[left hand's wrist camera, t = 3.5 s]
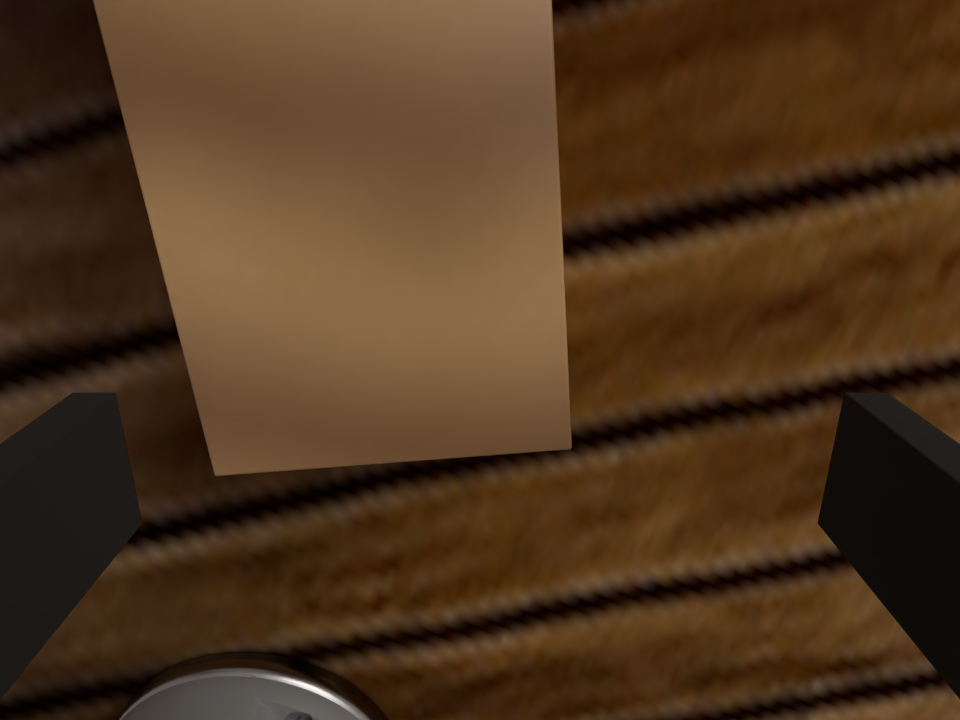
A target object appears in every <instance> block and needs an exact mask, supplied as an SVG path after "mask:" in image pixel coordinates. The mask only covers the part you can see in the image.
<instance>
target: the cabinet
mask: <svg viewBox="0 0 960 720" xmlns="http://www.w3.org/2000/svg"><path fill="white" fill-rule="evenodd" d="M93 3H94V7H95V11H96V15H97V19H98V22H99V26H100V30H101V34H102V38H103V42H104V46H105V50H106V54H107V58H108V61H109V65H110V69H111V73H112V77H113V81H114V85H115V89H116V93H117V97H118V100H119V104H120V108H121V112H122V116H123V120H124V124H125V128H126V132H127V136H128V139H129V143H130V147H131V151H132V155H133V159H134V163H135V167H136V171H137V175H138V178H139V182H140V186H141V190H142V194H143V198H144V202H145V206H146V210H147V214H148V217H149V221H150V225H151V229H152V233H153V237H154V241H155V245H156V249H157V253H158V256H159V260H160V264H161V268H162V272H163V276H164V280H165V284H166V288H167V292H168V295H169V299H170V303H171V307H172V311H173V315H174V319H175V323H176V327H177V331H178V334H179V338H180V342H181V346H182V350H183V354H184V358H185V362H186V366H187V369H188V373H189V377H190V381H191V385H192V389H193V393H194V397H195V401H196V405H197V408H198V412H199V416H200V420H201V424H202V428H203V432H204V436H205V440H206V444H207V447H208V451H209V455H210V459H211V463H212V467H213V471H214V475H215V476H225V475H238V474H251V473H264V472H277V471H290V470H303V469H317V468H330V467H343V466H356V465H369V464H382V463H395V462H408V461H421V460H435V459H448V458H461V457H474V456H487V455H500V454H513V453H526V452H539V451H553V450H566V449H571V447H572V441H571V418H570V396H569V374H568V351H567V329H566V307H565V285H564V262H563V240H562V218H561V195H560V173H559V151H558V128H557V106H556V84H555V62H554V39H553V17H552V0H93Z"/></svg>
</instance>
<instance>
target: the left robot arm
mask: <svg viewBox="0 0 960 720" xmlns="http://www.w3.org/2000/svg"><path fill="white" fill-rule="evenodd" d="M141 524H142V519H141V515H140V510H139V505H138V500H137V495H136V490H135V485H134V480H133V476H132V471H131V466H130V461H129V456H128V451H127V446H126V441H125V437H124V432H123V427H122V422H121V417H120V412H119V407H118V402H117V397H116V393H72V394H71V395H69V396H68V397H66V398H65V399H63V400H62V401H61V402H59V403H58V404H56V405H55V406H54V407H52V408H51V409H49V410H48V411H47V412H45V413H44V414H42V415H41V416H39V417H38V418H37V419H35V420H34V421H32V422H31V423H30V424H28V425H27V426H25V427H24V428H22V429H21V430H20V431H18V432H17V433H15V434H14V435H13V436H11V437H10V438H8V439H7V440H5V441H4V442H3V443H1V444H0V699H1V697H2V696H3V695H4V694H5V693H6V691H7V690H8V689H9V688H10V686H11V685H12V684H13V683H14V681H15V680H16V679H17V678H18V676H19V675H20V674H21V673H22V671H23V670H24V669H25V668H26V667H27V665H28V664H29V663H30V662H31V660H32V659H33V658H34V657H35V655H36V654H37V653H38V652H39V650H40V649H41V648H42V647H43V645H44V644H45V643H46V642H47V641H48V639H49V638H50V637H51V636H52V634H53V633H54V632H55V631H56V629H57V628H58V627H59V626H60V624H61V623H62V622H63V621H64V619H65V618H66V617H67V616H68V615H69V613H70V612H71V611H72V610H73V608H74V607H75V606H76V605H77V603H78V602H79V601H80V600H81V598H82V597H83V596H84V595H85V593H86V592H87V591H88V590H89V589H90V587H91V586H92V585H93V584H94V582H95V581H96V580H97V579H98V577H99V576H100V575H101V574H102V572H103V571H104V570H105V569H106V567H107V566H108V565H109V564H110V563H111V561H112V560H113V559H114V558H115V556H116V555H117V554H118V553H119V551H120V550H121V549H122V548H123V546H124V545H125V544H126V543H127V541H128V540H129V539H130V538H131V537H132V535H133V534H134V533H135V532H136V530H137V529H138V528H139V527H140V525H141ZM818 524H819V525H820V527H821V528H822V529H823V530H824V532H825V533H826V534H827V535H828V537H829V538H830V539H831V540H832V541H833V543H834V544H835V545H836V546H837V548H838V549H839V550H840V551H841V553H842V554H843V555H844V556H845V558H846V559H847V560H848V561H849V563H850V564H851V565H852V566H853V567H854V569H855V570H856V571H857V572H858V574H859V575H860V576H861V577H862V579H863V580H864V581H865V582H866V584H867V585H868V586H869V587H870V589H871V590H872V591H873V592H874V593H875V595H876V596H877V597H878V598H879V600H880V601H881V602H882V603H883V605H884V606H885V607H886V608H887V610H888V611H889V612H890V613H891V615H892V616H893V617H894V618H895V619H896V621H897V622H898V623H899V624H900V626H901V627H902V628H903V629H904V631H905V632H906V633H907V634H908V636H909V637H910V638H911V639H912V641H913V642H914V643H915V644H916V645H917V647H918V648H919V649H920V650H921V652H922V653H923V654H924V655H925V657H926V658H927V659H928V660H929V662H930V663H931V664H932V665H933V667H934V668H935V669H936V670H937V672H938V673H939V674H940V675H941V676H942V678H943V679H944V680H945V681H946V683H947V684H948V685H949V686H950V688H951V689H952V690H953V691H954V693H955V694H956V695H957V696H958V698H959V699H960V444H959V443H957V442H956V441H955V440H953V439H952V438H950V437H949V436H947V435H946V434H945V433H943V432H942V431H940V430H939V429H938V428H936V427H935V426H933V425H932V424H930V423H929V422H928V421H926V420H925V419H923V418H922V417H921V416H919V415H918V414H916V413H915V412H913V411H912V410H911V409H909V408H908V407H906V406H905V405H904V404H902V403H901V402H899V401H898V400H897V399H895V398H894V397H892V396H891V395H889V394H888V393H844V397H843V402H842V407H841V412H840V417H839V422H838V427H837V432H836V437H835V441H834V446H833V451H832V456H831V461H830V466H829V471H828V476H827V480H826V485H825V490H824V495H823V500H822V505H821V510H820V515H819V519H818ZM119 720H387V718H386V717H385V715H384V714H383V713H382V712H381V710H380V709H379V708H378V707H377V706H376V705H375V704H374V703H373V702H372V701H371V700H370V699H369V698H368V697H367V696H366V695H365V694H363V693H362V692H361V691H360V690H358V689H357V688H356V687H354V686H353V685H351V684H350V683H348V682H347V681H345V680H344V679H342V678H340V677H338V676H336V675H335V674H333V673H331V672H328V671H326V670H324V669H322V668H320V667H317V666H314V665H312V664H309V663H306V662H303V661H299V660H296V659H292V658H288V657H283V656H278V655H272V654H264V653H249V652H239V653H223V654H215V655H209V656H204V657H200V658H196V659H192V660H189V661H186V662H183V663H181V664H178V665H175V666H173V667H171V668H169V669H167V670H165V671H163V672H162V673H160V674H159V675H157V676H155V677H154V678H152V679H151V680H150V681H149V682H147V683H146V684H145V685H144V686H143V687H142V688H141V689H140V690H139V691H138V692H137V693H136V694H135V695H134V696H133V698H132V699H131V700H130V701H129V703H128V704H127V706H126V708H125V710H124V711H123V713H122V715H121V716H120V718H119Z"/></svg>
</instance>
